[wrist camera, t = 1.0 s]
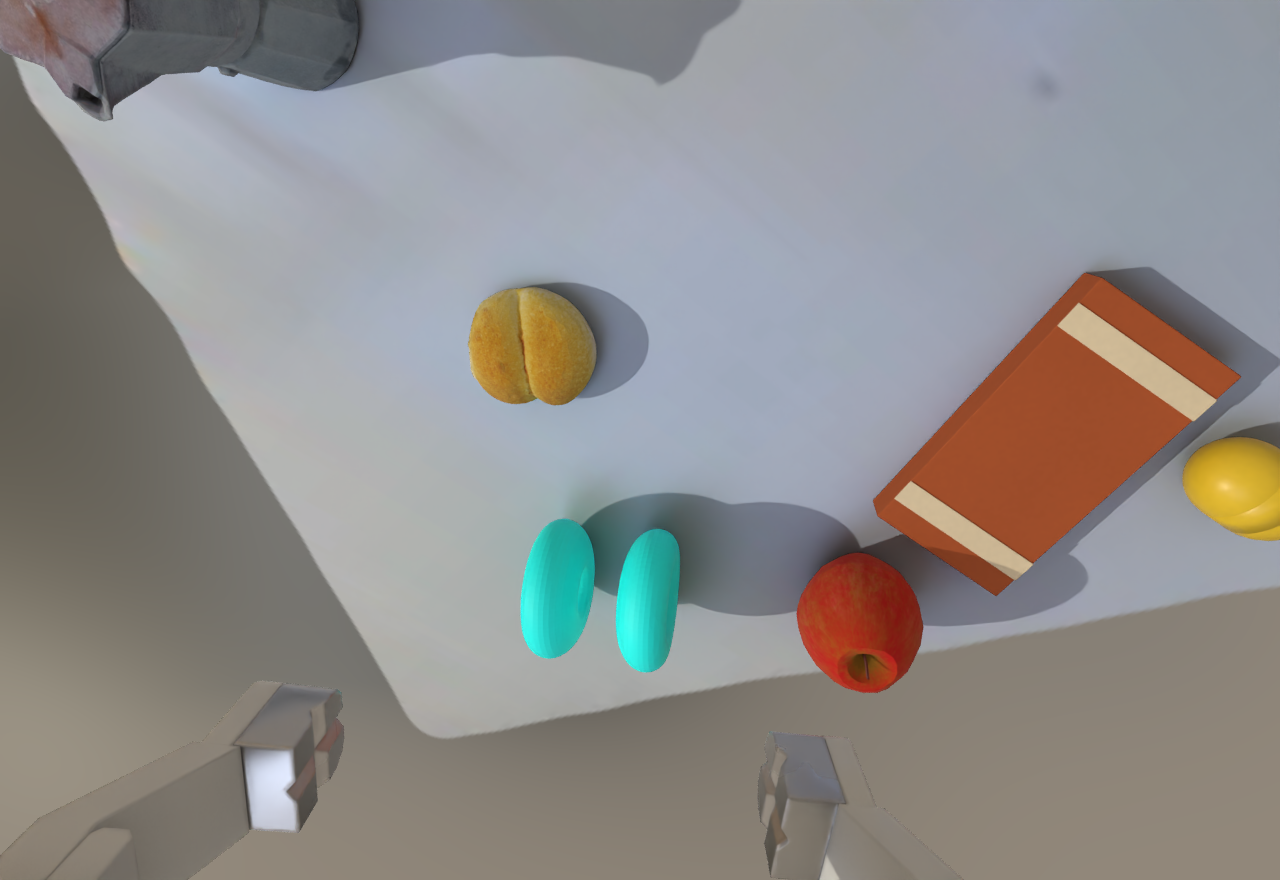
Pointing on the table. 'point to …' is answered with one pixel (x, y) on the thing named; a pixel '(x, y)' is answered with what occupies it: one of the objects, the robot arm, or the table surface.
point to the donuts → (566, 591)
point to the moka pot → (178, 42)
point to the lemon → (1237, 485)
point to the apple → (860, 622)
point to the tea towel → (1051, 433)
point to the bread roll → (531, 347)
